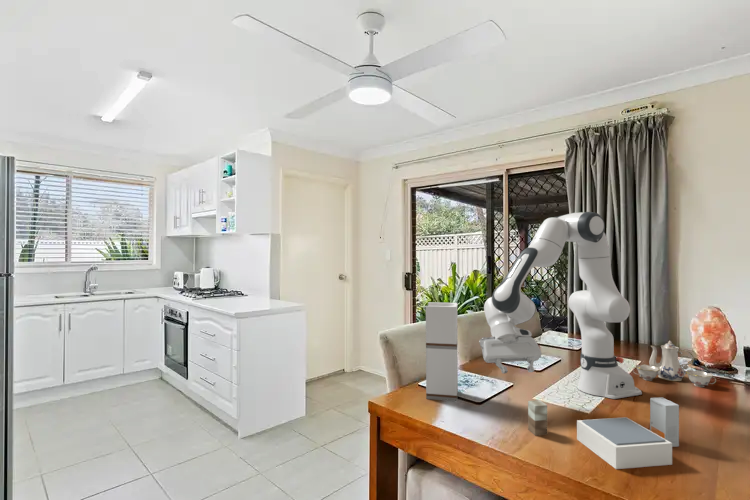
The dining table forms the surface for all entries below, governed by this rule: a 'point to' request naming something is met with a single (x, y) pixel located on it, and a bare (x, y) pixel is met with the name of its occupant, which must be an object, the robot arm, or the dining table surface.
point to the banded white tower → (441, 351)
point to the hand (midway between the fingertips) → (518, 372)
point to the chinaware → (672, 367)
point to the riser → (624, 443)
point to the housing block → (537, 417)
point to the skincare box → (665, 419)
